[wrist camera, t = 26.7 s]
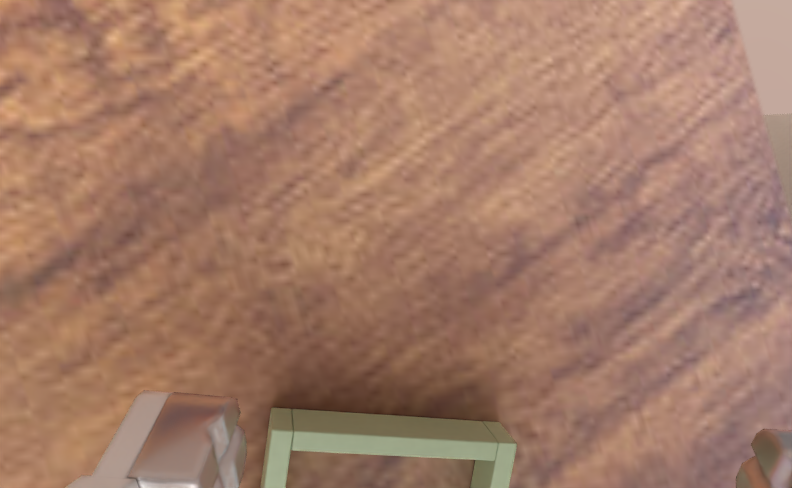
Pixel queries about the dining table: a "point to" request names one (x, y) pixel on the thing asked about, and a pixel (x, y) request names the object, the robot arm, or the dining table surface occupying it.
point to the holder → (388, 441)
